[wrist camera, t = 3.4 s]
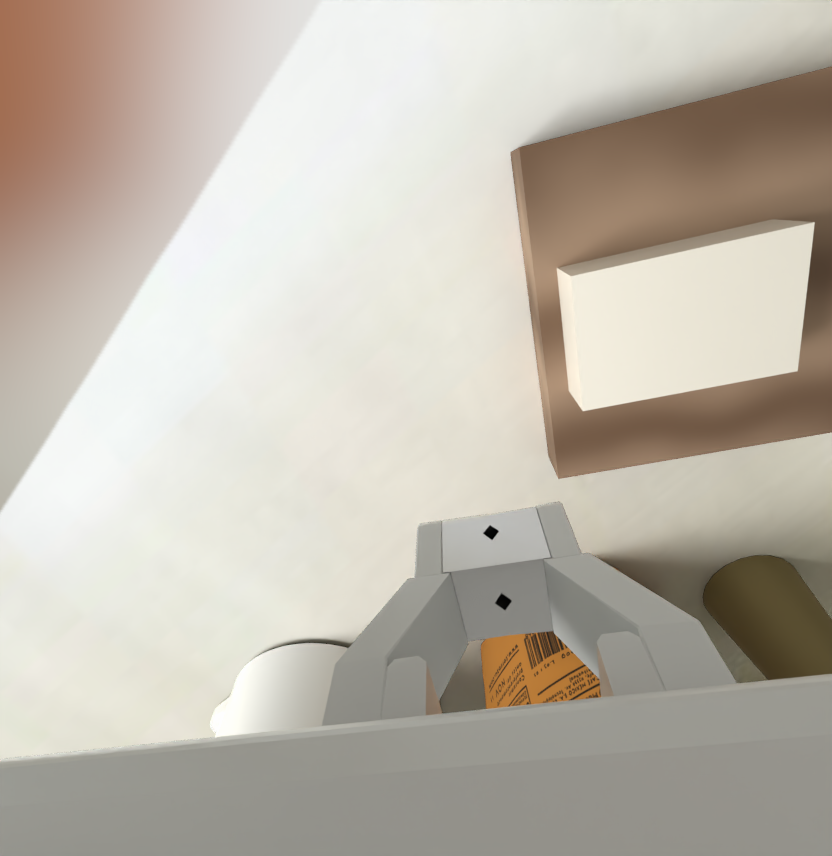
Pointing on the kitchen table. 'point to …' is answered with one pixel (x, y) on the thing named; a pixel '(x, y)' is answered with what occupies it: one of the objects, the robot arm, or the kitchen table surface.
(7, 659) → the kitchen table surface
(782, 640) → the cork
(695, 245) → the tile
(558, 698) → the coffee package
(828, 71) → the stand
